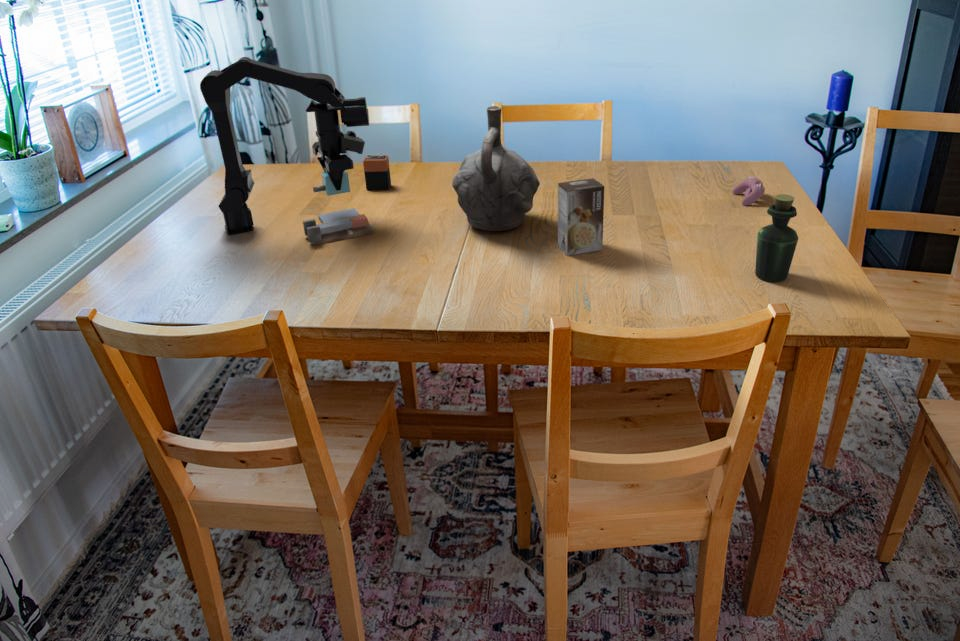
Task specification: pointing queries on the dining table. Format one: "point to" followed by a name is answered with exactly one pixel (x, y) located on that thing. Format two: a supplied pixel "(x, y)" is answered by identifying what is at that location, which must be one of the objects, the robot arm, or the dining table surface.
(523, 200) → the vessel
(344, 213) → the mat
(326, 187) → the plug
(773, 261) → the potion bottle
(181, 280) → the dining table surface
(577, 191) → the coffee box
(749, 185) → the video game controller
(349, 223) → the cutter lever
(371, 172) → the battery
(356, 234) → the base
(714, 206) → the dining table surface
